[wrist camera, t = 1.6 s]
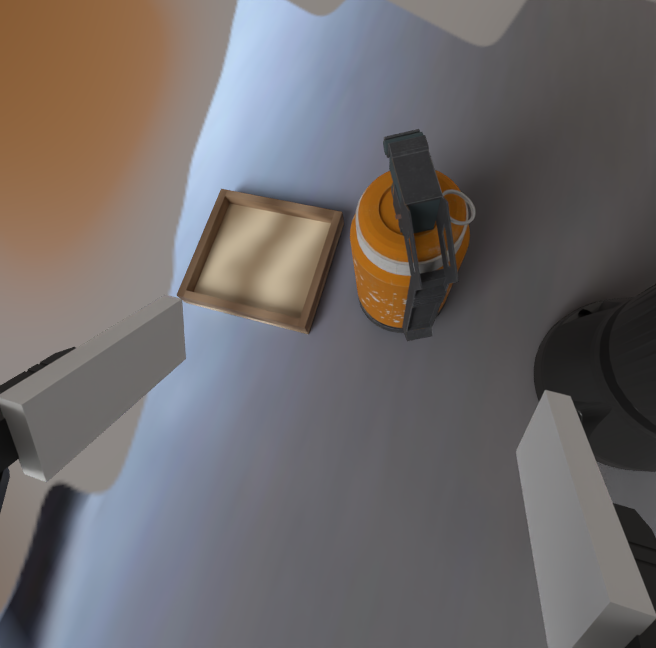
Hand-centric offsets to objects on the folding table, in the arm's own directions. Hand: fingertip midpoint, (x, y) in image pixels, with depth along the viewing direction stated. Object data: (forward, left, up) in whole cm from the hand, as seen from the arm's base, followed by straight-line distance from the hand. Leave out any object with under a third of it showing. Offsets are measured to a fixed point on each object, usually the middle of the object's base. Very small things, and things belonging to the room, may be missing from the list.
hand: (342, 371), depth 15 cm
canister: (-1, -13, -26) cm, 29 cm away
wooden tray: (+15, -14, -26) cm, 33 cm away
